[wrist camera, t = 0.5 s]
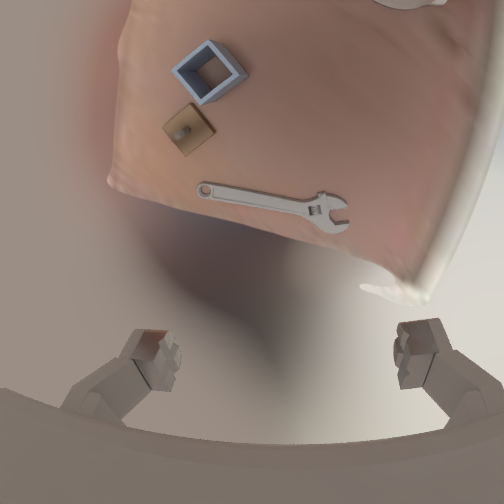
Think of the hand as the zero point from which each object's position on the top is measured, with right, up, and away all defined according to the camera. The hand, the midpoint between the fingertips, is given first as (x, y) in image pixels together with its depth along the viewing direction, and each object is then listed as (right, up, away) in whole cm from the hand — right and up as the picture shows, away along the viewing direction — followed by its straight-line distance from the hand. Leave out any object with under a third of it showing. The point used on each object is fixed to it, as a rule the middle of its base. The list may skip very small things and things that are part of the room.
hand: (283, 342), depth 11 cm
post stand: (-11, +22, +36) cm, 44 cm away
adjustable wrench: (+3, +12, +41) cm, 42 cm away
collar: (-6, +30, +31) cm, 43 cm away
